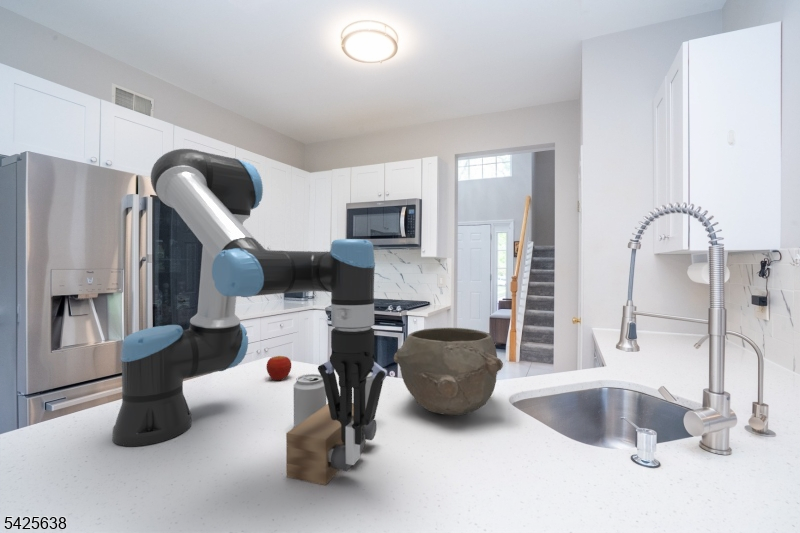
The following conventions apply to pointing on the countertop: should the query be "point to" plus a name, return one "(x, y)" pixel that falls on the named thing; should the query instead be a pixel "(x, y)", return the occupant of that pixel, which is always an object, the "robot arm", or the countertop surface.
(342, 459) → the knob
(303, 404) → the can
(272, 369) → the apple
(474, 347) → the bowl
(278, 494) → the countertop surface
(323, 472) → the block
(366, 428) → the knob
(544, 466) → the countertop surface
